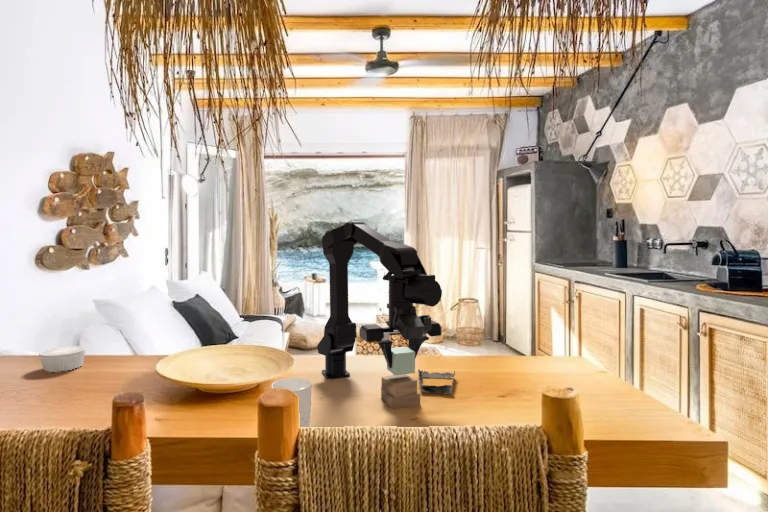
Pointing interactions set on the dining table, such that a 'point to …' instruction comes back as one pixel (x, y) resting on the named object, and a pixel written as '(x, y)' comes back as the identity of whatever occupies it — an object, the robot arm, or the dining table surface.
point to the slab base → (401, 400)
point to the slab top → (399, 385)
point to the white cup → (299, 395)
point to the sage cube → (402, 361)
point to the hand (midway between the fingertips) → (400, 366)
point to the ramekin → (62, 358)
